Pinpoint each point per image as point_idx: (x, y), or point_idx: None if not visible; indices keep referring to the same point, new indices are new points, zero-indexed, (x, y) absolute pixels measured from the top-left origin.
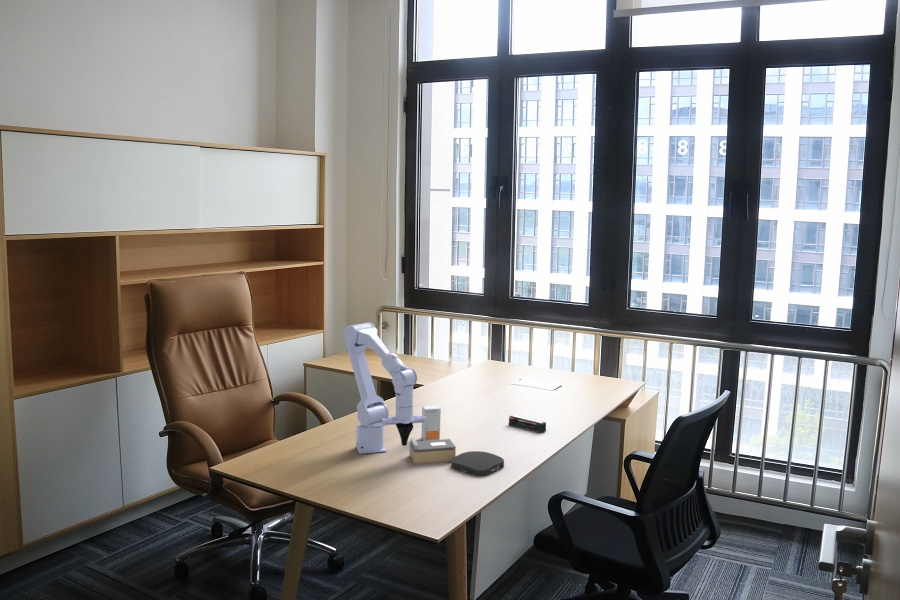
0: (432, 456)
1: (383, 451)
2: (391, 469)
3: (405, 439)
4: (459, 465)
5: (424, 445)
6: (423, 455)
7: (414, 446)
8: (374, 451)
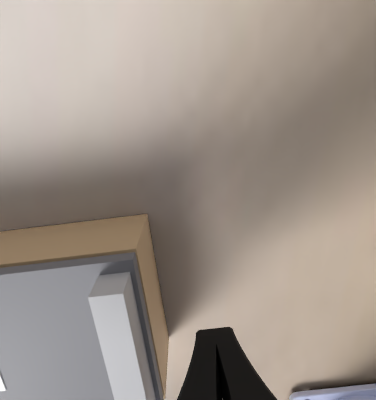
0: (11, 246)
1: (306, 392)
2: (303, 137)
3: (214, 368)
4: None
5: (48, 346)
6: (72, 243)
7: (129, 296)
8: (357, 390)
